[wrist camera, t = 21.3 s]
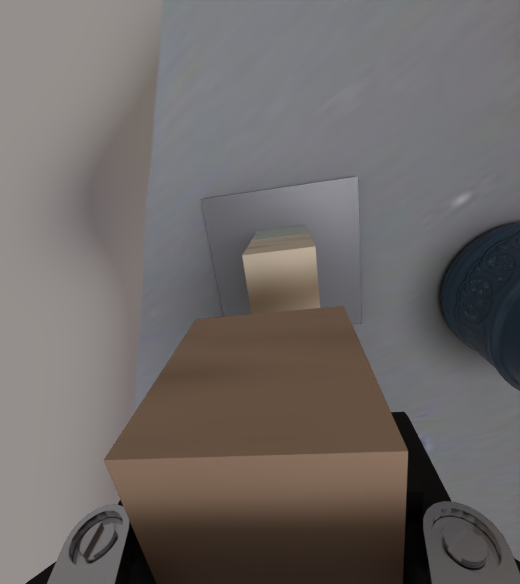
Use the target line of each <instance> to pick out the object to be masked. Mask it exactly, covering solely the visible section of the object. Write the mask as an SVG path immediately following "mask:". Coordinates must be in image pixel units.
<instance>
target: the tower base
mask: <svg viewBox="0 0 520 584" xmlns="http://www.w3.org/2000/svg"><path fill="white" fill-rule="evenodd" d="M201 204H202V209H203V214H204V219H205V224H206V230H207V235H208V240H209V245H210V250H211V255H212V260H213V265H214V271H215V276H216V281H217V286H218V291H219V296H220V301H221V306H222V311H223V317H227V316H238V315H249V314H252V313H251V307H250V301H249V295H248V289H247V283H246V277H245V270H244V264H243V258H242V255H243V253H244V252H245V250H246V248H247V247H248V245H249V244H250V242H251V241H254V240H262V239H270V238H278V237H286V236H294V235H302V234H310V235H311V238H312V240H313V242H314V245H315V248H316V261H317V273H318V286H319V298H320V308H325V307H336V306H344V308H345V310H346V312H347V315H348V317H349V319H350V321H351V324H362V308H361V273H360V237H359V201H358V177H350V178H343V179H336V180H330V181H323V182H316V183H309V184H302V185H295V186H288V187H281V188H275V189H268V190H261V191H254V192H247V193H240V194H233V195H226V196H220V197H213V198H206V199H201Z"/></svg>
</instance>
